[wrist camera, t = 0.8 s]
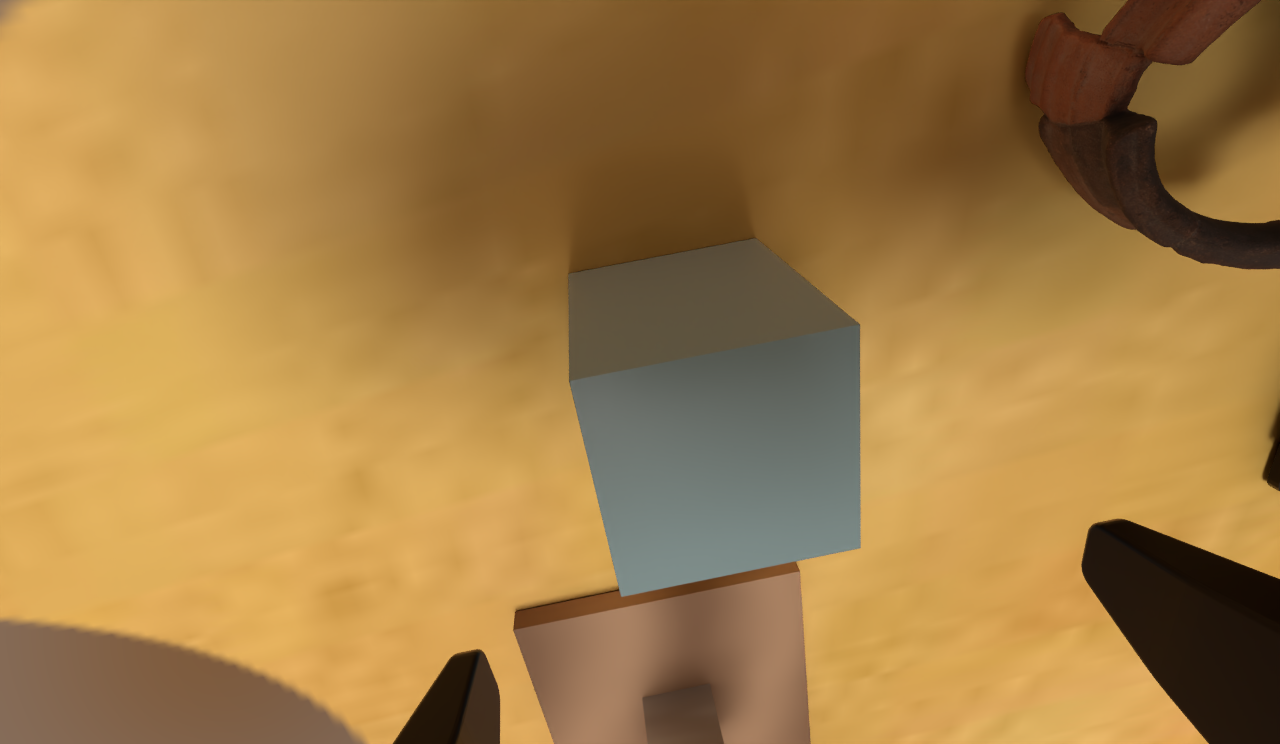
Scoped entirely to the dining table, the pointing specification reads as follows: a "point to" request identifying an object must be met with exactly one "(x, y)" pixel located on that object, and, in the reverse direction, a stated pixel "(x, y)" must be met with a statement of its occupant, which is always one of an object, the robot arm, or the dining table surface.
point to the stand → (674, 663)
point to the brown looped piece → (1134, 123)
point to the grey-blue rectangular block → (715, 413)
